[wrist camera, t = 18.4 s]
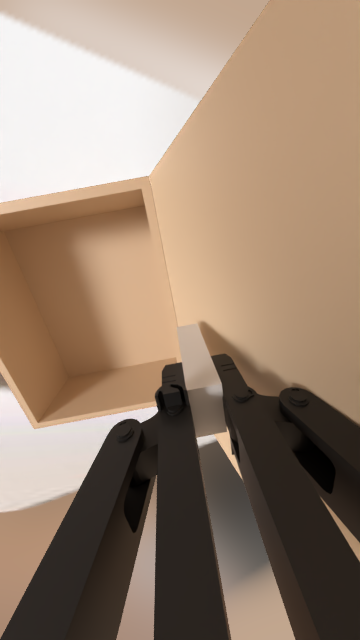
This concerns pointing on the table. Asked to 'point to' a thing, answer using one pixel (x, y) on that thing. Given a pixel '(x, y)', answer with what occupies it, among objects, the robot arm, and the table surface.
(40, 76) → the table surface
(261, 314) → the wooden lid with knob
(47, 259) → the wooden box
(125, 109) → the table surface
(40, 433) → the table surface
